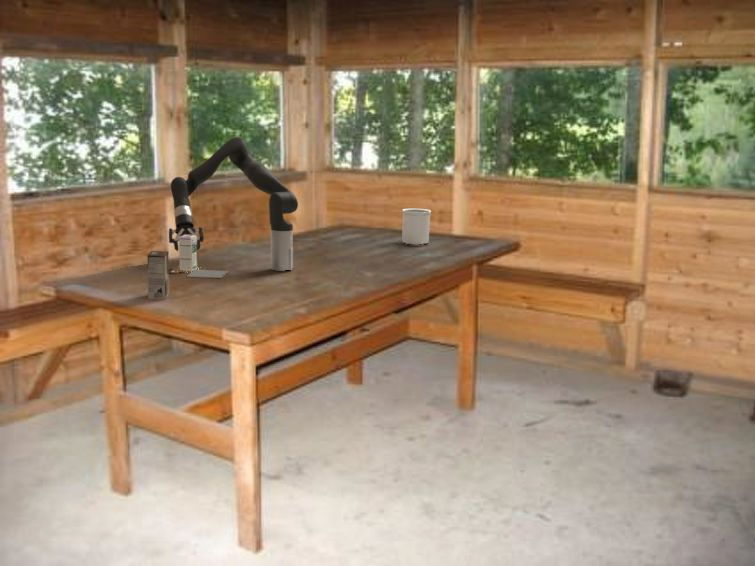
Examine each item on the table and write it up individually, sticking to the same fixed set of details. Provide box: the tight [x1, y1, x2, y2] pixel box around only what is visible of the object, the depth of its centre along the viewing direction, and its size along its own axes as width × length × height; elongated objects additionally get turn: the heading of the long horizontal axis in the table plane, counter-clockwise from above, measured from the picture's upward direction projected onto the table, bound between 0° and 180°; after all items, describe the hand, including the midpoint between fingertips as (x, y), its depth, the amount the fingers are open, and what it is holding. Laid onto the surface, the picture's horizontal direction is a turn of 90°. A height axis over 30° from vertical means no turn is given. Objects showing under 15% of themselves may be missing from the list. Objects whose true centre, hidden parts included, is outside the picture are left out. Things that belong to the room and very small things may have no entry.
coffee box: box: [147, 250, 170, 300], centre depth 315 cm, size 9×6×16 cm
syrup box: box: [178, 234, 198, 271], centre depth 365 cm, size 6×6×14 cm
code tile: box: [170, 266, 200, 274], centre depth 366 cm, size 12×12×1 cm
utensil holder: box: [401, 207, 432, 244], centre depth 454 cm, size 15×15×18 cm
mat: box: [186, 269, 229, 280], centre depth 358 cm, size 14×14×1 cm
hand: (187, 249), depth 365 cm, fingers open, 8 cm apart
